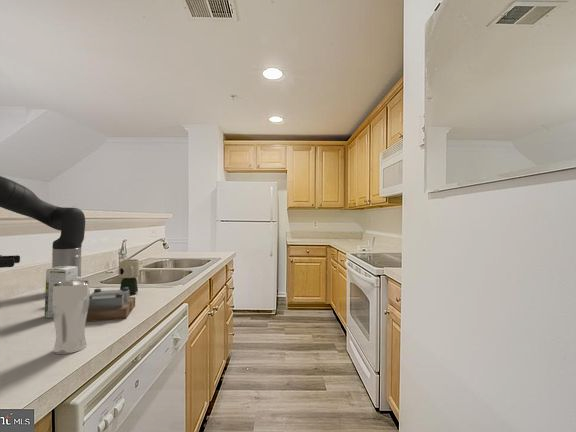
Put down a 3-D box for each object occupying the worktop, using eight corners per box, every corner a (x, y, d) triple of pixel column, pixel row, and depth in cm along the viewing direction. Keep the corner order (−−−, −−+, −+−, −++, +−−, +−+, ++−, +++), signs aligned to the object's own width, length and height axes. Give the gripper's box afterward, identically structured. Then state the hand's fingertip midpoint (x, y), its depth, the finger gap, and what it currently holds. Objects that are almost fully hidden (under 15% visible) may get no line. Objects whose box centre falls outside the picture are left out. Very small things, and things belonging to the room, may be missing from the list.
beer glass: (47, 358, 63) (48, 287, 63) (55, 345, 69) (56, 281, 69) (86, 351, 66) (87, 284, 66) (90, 340, 72) (91, 278, 72)
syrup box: (57, 312, 93) (58, 265, 93) (77, 311, 93) (78, 265, 93) (44, 318, 87) (44, 268, 87) (65, 317, 88) (66, 268, 88)
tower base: (91, 308, 96) (91, 287, 96) (135, 305, 100) (135, 285, 100) (74, 322, 84) (75, 298, 84) (126, 318, 88) (126, 295, 88)
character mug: (116, 292, 118) (117, 259, 118) (136, 289, 122) (137, 258, 122) (120, 298, 109) (120, 263, 109) (141, 295, 113) (142, 261, 113)
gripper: (-81, 252, 69) (12, 249, 79) (-58, 247, 81) (21, 245, 90) (-83, 284, 69) (11, 278, 78) (-59, 275, 81) (21, 270, 90)
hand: (17, 260), depth 84 cm, fingers open, 8 cm apart
